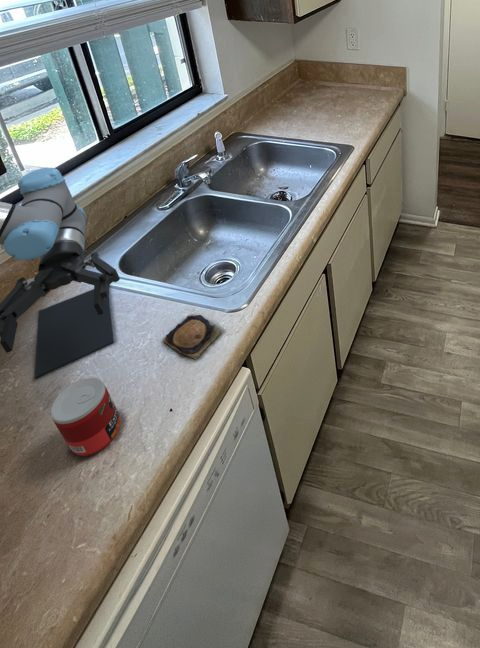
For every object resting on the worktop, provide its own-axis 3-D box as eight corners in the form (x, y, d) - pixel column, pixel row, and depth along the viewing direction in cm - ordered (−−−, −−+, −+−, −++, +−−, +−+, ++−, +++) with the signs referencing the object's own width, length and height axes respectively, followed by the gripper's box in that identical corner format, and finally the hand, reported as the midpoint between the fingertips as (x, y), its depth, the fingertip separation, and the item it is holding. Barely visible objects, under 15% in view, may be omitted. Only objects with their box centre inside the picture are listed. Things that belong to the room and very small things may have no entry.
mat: (35, 378, 91) (34, 377, 91) (40, 312, 106) (39, 310, 105) (113, 342, 98) (113, 341, 98) (107, 285, 113) (106, 283, 113)
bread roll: (224, 331, 100) (221, 320, 99) (194, 362, 94) (190, 351, 92) (192, 314, 105) (189, 303, 103) (160, 342, 98) (156, 331, 96)
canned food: (123, 439, 80) (105, 403, 76) (71, 468, 76) (48, 432, 72) (120, 403, 86) (103, 368, 81) (71, 429, 82) (50, 393, 77)
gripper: (133, 244, 102) (138, 308, 86) (-4, 293, 90) (-27, 378, 74) (123, 219, 99) (126, 281, 82) (-20, 266, 87) (-49, 350, 71)
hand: (54, 327), depth 78 cm, fingers open, 13 cm apart
